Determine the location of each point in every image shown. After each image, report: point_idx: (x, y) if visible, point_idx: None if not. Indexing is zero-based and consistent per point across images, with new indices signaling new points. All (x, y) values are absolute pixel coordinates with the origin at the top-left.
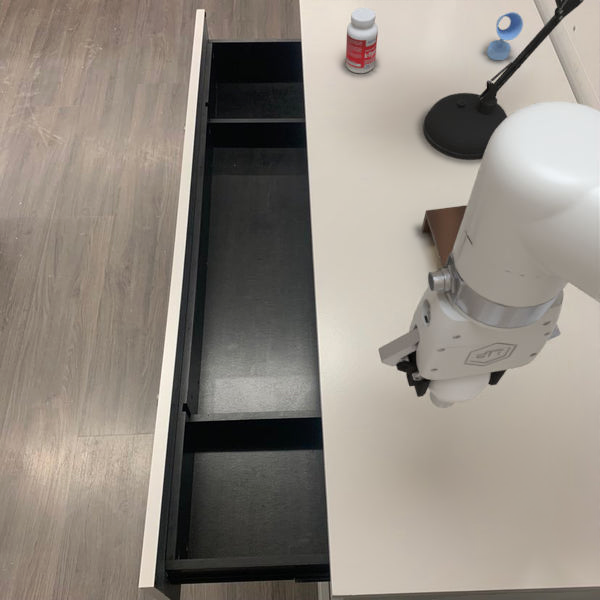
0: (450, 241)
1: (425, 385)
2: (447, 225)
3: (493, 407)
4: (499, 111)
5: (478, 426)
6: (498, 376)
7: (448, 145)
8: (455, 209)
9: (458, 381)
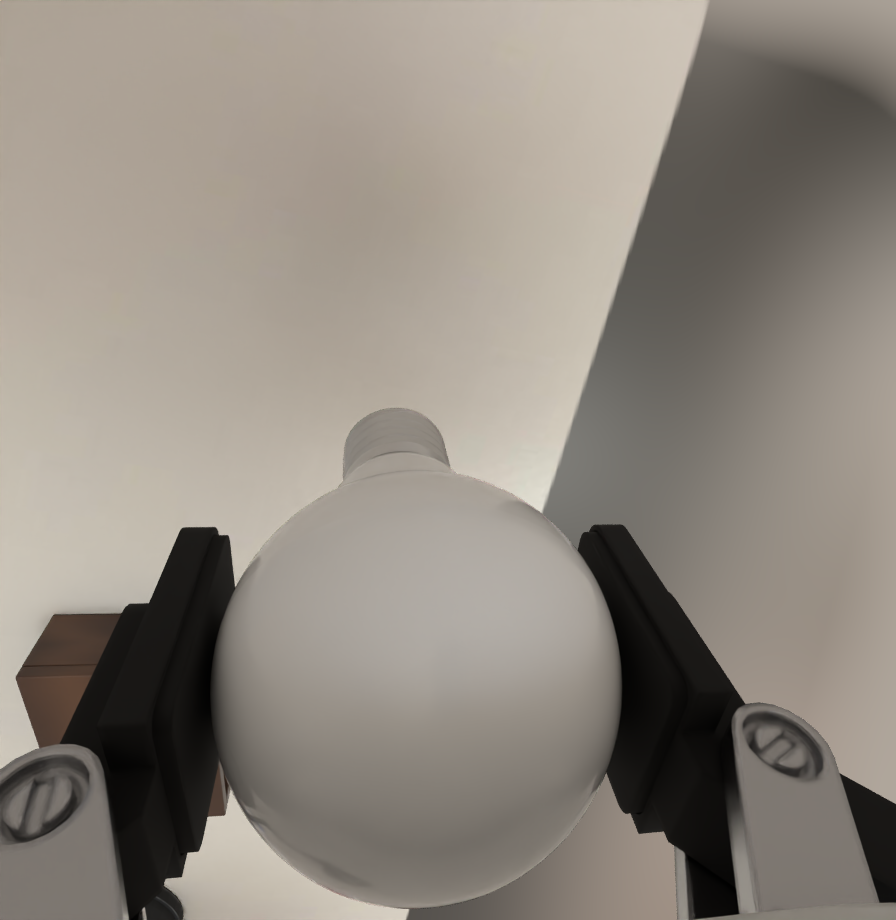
0: None
1: (683, 640)
2: None
3: (151, 344)
4: None
5: (206, 302)
6: (170, 624)
7: None
8: None
9: (522, 688)
